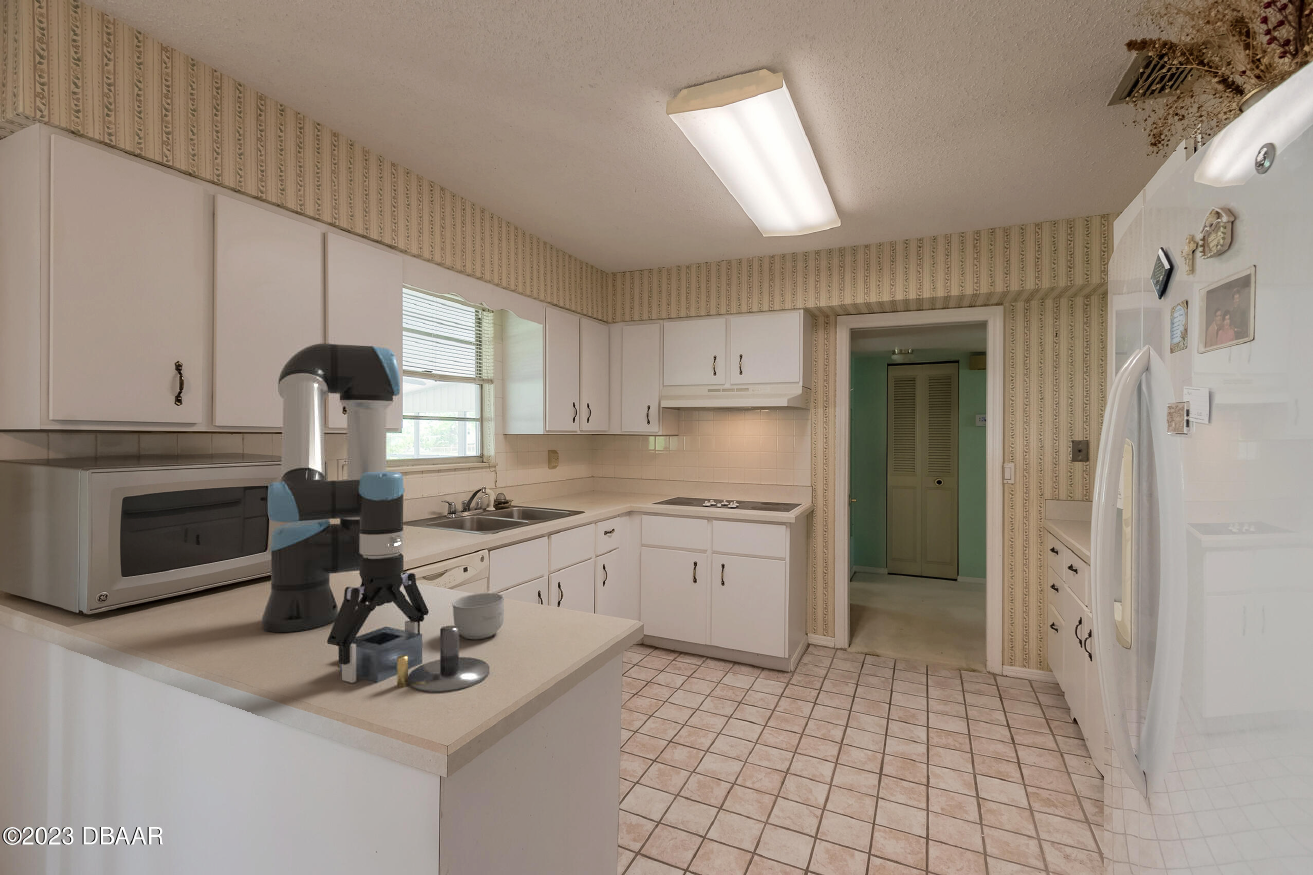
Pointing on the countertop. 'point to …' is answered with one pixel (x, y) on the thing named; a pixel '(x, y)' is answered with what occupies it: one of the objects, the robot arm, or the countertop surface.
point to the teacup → (479, 614)
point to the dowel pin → (402, 670)
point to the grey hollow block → (385, 652)
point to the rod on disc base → (448, 667)
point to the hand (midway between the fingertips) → (381, 667)
